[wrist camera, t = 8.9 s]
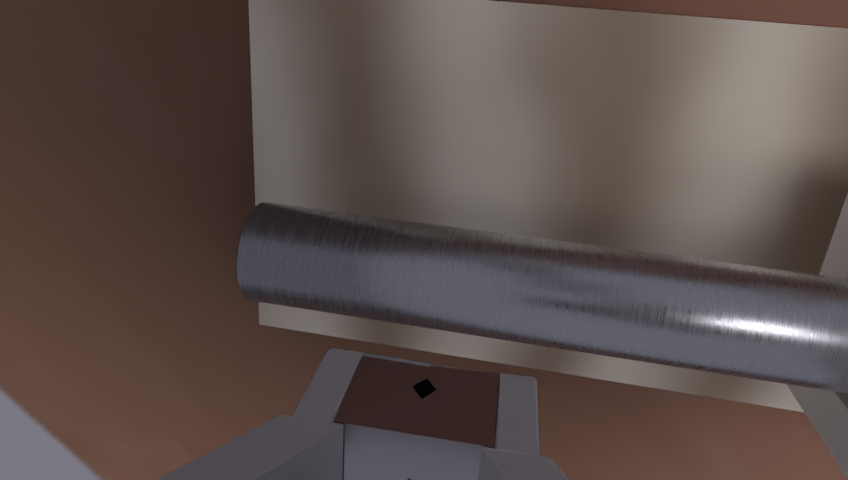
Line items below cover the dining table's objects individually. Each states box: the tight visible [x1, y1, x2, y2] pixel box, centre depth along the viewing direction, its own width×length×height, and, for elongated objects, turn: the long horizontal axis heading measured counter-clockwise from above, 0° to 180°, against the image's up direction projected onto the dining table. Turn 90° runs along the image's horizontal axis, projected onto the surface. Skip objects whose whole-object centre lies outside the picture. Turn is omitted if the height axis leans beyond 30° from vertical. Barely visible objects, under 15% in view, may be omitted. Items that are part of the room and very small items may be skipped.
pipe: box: [237, 202, 848, 394], centre depth 13 cm, size 26×3×3 cm, turn 85°
